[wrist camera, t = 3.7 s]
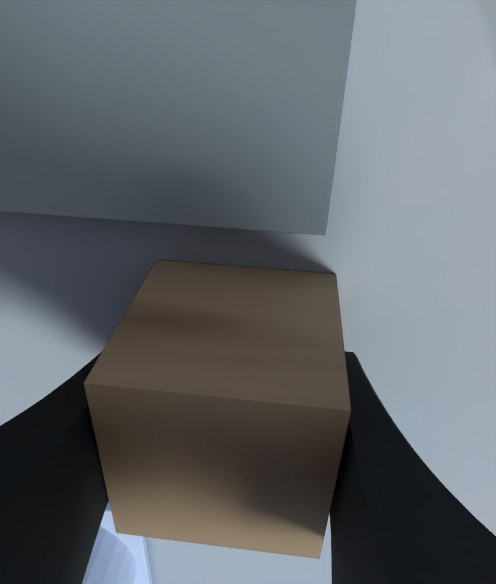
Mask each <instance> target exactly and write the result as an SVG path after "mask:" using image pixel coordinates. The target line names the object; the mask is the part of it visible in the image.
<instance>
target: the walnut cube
mask: <svg viewBox="0 0 496 584" xmlns="http://www.w3.org/2000/svg"><path fill="white" fill-rule="evenodd" d="M84 387H85V392H86V396H87V401H88V405H89V410H90V415H91V419H92V424H93V429H94V433H95V438H96V443H97V447H98V452H99V456H100V461H101V466H102V470H103V475H104V480H105V484H106V489H107V494H108V498H109V503H110V508H111V512H112V517H113V521H114V526H115V531H116V533H120V534H127V535H135V536H143V537H151V538H159V539H167V540H175V541H182V542H190V543H198V544H206V545H214V546H222V547H229V548H237V549H245V550H253V551H261V552H269V553H277V554H284V555H292V556H300V557H308V558H316V559H320V554H321V549H322V545H323V540H324V535H325V530H326V526H327V521H328V516H329V512H330V507H331V502H332V498H333V493H334V488H335V483H336V479H337V474H338V469H339V465H340V460H341V455H342V450H343V446H344V441H345V436H346V432H347V427H348V422H349V418H350V413H351V406H350V397H349V388H348V379H347V369H346V360H345V351H344V342H343V333H342V324H341V314H340V305H339V296H338V287H337V278H336V274H327V273H315V272H302V271H290V270H278V269H265V268H253V267H240V266H228V265H215V264H203V263H190V262H178V261H166V260H156V262H155V264H154V265H153V267H152V269H151V270H150V272H149V274H148V276H147V277H146V279H145V281H144V282H143V284H142V286H141V287H140V289H139V291H138V292H137V294H136V296H135V297H134V299H133V301H132V303H131V304H130V306H129V308H128V309H127V311H126V313H125V314H124V316H123V318H122V319H121V321H120V323H119V324H118V326H117V328H116V330H115V331H114V333H113V335H112V336H111V338H110V340H109V341H108V343H107V345H106V346H105V348H104V350H103V351H102V353H101V355H100V357H99V358H98V360H97V362H96V363H95V365H94V367H93V368H92V370H91V372H90V373H89V375H88V377H87V378H86V380H85V382H84Z"/></svg>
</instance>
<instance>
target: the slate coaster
mask: <svg viewBox="0 0 496 584" xmlns="http://www.w3.org/2000/svg"><path fill="white" fill-rule="evenodd" d="M355 8H356V0H0V211H3V212H17V213H30V214H44V215H57V216H71V217H84V218H98V219H111V220H125V221H138V222H152V223H165V224H179V225H192V226H206V227H219V228H233V229H246V230H260V231H273V232H287V233H300V234H314V235H325V234H326V227H327V219H328V212H329V204H330V197H331V189H332V182H333V174H334V167H335V159H336V151H337V144H338V136H339V129H340V121H341V114H342V106H343V99H344V91H345V83H346V76H347V68H348V61H349V53H350V46H351V38H352V31H353V23H354V16H355Z"/></svg>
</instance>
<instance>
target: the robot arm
mask: <svg viewBox="0 0 496 584" xmlns="http://www.w3.org/2000/svg"><path fill="white" fill-rule="evenodd" d="M101 353H102V352H101ZM101 353H100V354H99V355H97V356H96V357H95V358H94V359H93V360H92V361H90V362H89V363H88V364H87V365H85V366H84V367H83V368H82V369H81V370H79V371H78V372H77V373H76V374H75V375H73V376H72V377H71V378H70V379H68V380H67V381H66V382H64V383H63V384H62V385H60V386H59V387H58V388H56V389H55V390H54V391H52V392H51V393H50V394H48V395H47V396H46V397H44V398H43V399H41V400H40V401H39V402H37V403H36V404H34V405H33V406H31V407H30V408H28V409H27V410H25V411H24V412H22V413H20V414H19V415H17V416H16V417H14V418H12V419H11V420H9V421H8V422H6V423H4V424H3V425H1V426H0V584H152V578H151V572H150V565H149V559H148V553H147V546H146V540H145V537H143V536H135V535H127V534H120V533H116V531H115V526H114V521H113V517H112V512H111V508H110V503H109V502H108V501H109V498H108V494H107V489H106V484H105V480H104V475H103V470H102V466H101V461H100V456H99V452H98V447H97V443H96V438H95V433H94V429H93V424H92V419H91V415H90V410H89V405H88V401H87V396H86V392H85V387H84V382H85V380H86V378H87V377H88V375H89V373H90V372H91V370H92V368H93V367H94V365H95V363H96V362H97V360H98V358H99V357H100V355H101ZM345 360H346V369H347V379H348V388H349V397H350V406H351V413H350V418H349V422H348V427H347V432H346V436H345V441H344V446H343V450H342V455H341V460H340V465H339V469H338V474H337V479H336V483H335V488H334V493H333V498H332V502H331V507H330V512H329V513H330V525H331V555H332V584H496V536H495V535H494V534H493V533H492V532H490V531H489V530H488V529H487V528H486V527H485V526H484V525H483V524H482V523H481V522H479V521H478V520H477V519H476V518H475V517H474V516H473V515H472V514H471V513H470V512H469V511H468V510H467V509H466V508H465V507H464V506H463V505H462V504H461V503H460V502H459V501H458V500H457V499H456V498H455V497H454V496H453V495H452V494H451V492H450V491H449V490H448V489H447V488H446V487H445V486H444V485H443V484H442V483H441V482H440V481H439V479H438V478H437V477H436V476H435V475H434V474H433V473H432V471H431V470H430V469H429V468H428V467H427V465H426V464H425V463H424V462H423V461H422V459H421V458H420V457H419V456H418V454H417V453H416V452H415V451H414V449H413V448H412V447H411V445H410V444H409V443H408V441H407V440H406V439H405V437H404V436H403V434H402V433H401V432H400V430H399V429H398V427H397V426H396V424H395V423H394V421H393V420H392V418H391V417H390V415H389V414H388V412H387V411H386V409H385V407H384V406H383V404H382V403H381V401H380V399H379V398H378V396H377V394H376V393H375V391H374V389H373V387H372V386H371V384H370V382H369V380H368V378H367V376H366V374H365V373H364V371H363V369H362V367H361V364H360V362H359V360H358V358H357V356H356V355H355V354H354V353H353V352H345Z"/></svg>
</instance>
